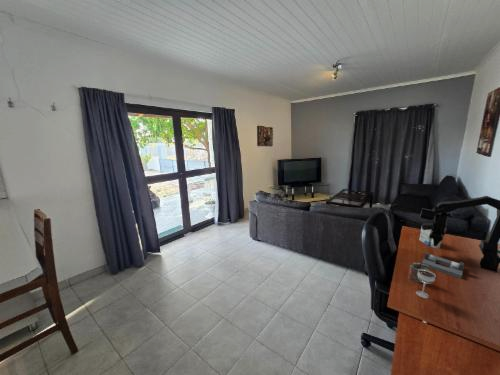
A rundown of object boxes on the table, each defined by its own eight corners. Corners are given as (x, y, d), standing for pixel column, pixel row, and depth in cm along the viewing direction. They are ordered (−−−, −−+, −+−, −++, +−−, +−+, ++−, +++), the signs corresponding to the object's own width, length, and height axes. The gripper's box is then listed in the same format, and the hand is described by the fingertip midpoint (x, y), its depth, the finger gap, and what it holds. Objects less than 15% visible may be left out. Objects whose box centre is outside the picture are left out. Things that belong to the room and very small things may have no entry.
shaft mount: (463, 267, 124) (465, 259, 123) (461, 278, 115) (463, 269, 113) (426, 256, 136) (427, 248, 135) (421, 265, 127) (423, 257, 126)
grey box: (408, 279, 115) (411, 263, 112) (407, 276, 118) (410, 260, 115) (427, 284, 111) (430, 267, 109) (425, 280, 114) (429, 264, 112)
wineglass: (414, 287, 109) (418, 266, 106) (431, 293, 105) (435, 272, 102) (413, 295, 104) (417, 273, 101) (431, 301, 100) (436, 279, 97)
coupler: (440, 246, 136) (442, 236, 135) (439, 249, 133) (441, 239, 132) (430, 244, 140) (433, 234, 138) (429, 246, 137) (431, 236, 135)
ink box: (435, 245, 148) (438, 230, 146) (427, 245, 148) (431, 230, 146) (425, 239, 157) (428, 225, 154) (418, 239, 157) (421, 225, 154)
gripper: (426, 214, 144) (422, 235, 148) (421, 222, 132) (416, 245, 136) (448, 219, 136) (443, 241, 140) (445, 227, 124) (439, 251, 128)
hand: (435, 244), depth 136 cm, fingers closed on coupler, 4 cm apart
